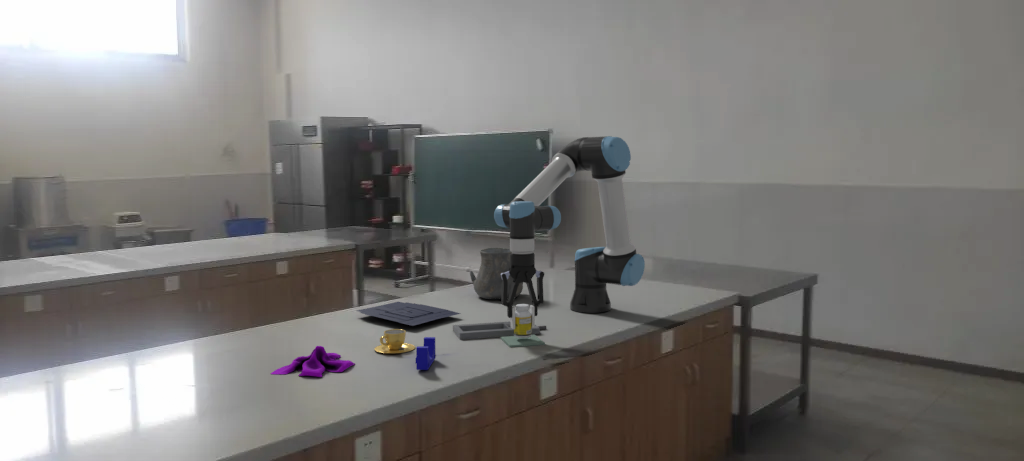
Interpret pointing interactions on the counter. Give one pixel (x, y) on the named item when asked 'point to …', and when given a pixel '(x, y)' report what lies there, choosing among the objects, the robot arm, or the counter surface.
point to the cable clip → (425, 354)
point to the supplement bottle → (522, 321)
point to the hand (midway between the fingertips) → (522, 327)
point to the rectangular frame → (488, 330)
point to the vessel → (493, 274)
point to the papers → (407, 312)
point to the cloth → (315, 364)
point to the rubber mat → (522, 341)
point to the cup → (394, 342)
